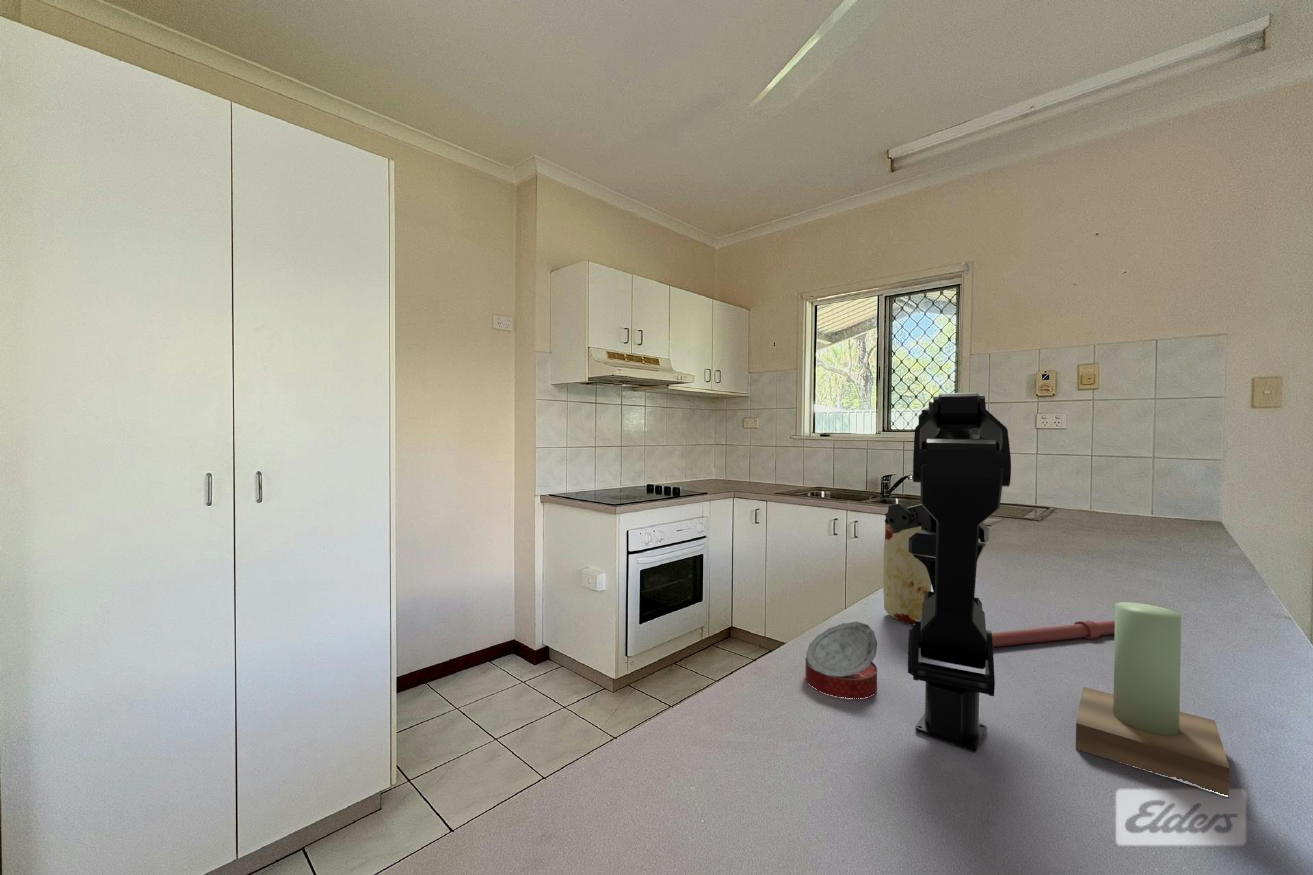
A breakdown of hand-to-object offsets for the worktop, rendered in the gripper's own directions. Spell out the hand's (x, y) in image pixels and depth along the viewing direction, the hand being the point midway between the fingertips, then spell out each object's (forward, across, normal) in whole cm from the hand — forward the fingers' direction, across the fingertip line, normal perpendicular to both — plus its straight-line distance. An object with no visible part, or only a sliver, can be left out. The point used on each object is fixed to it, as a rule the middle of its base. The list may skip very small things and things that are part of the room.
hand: (950, 597), depth 75 cm
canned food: (+13, +9, -12) cm, 20 cm away
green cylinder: (+10, 0, +20) cm, 23 cm away
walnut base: (+13, 0, +20) cm, 24 cm away
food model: (+13, -25, -13) cm, 31 cm away
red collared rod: (+14, -35, +10) cm, 39 cm away
